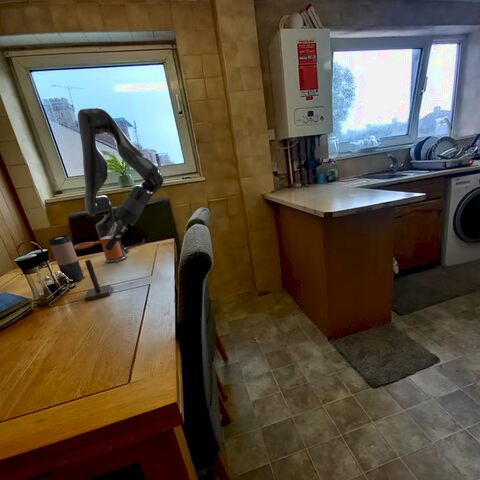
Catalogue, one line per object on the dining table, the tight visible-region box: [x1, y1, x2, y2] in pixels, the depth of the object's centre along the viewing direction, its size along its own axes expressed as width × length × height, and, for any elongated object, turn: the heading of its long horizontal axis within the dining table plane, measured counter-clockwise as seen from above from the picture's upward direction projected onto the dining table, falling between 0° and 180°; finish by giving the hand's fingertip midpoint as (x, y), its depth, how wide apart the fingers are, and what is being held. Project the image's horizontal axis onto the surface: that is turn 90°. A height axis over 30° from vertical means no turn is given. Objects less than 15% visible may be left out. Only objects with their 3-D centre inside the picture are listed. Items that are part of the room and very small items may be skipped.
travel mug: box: [48, 234, 85, 284], centre depth 122 cm, size 8×8×20 cm
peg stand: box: [84, 259, 113, 302], centre depth 105 cm, size 8×8×14 cm
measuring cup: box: [73, 235, 123, 259], centre depth 105 cm, size 14×6×8 cm, turn 127°
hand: (106, 247), depth 106 cm, fingers closed on measuring cup, 6 cm apart
